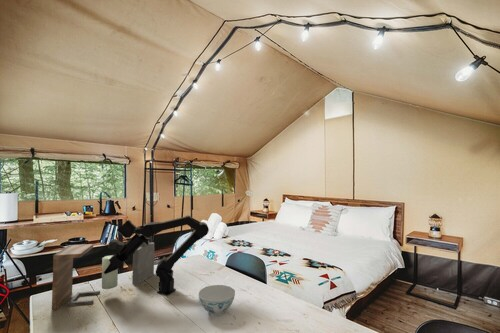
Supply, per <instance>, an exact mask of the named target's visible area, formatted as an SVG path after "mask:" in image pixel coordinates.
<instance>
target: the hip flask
mask: <svg viewBox="0 0 500 333" xmlns="http://www.w3.org/2000/svg"><path fill="white" fill-rule="evenodd" d="M154 274H155V242H152V241H151V242H149V244H148V245H147V244H146V243H145V242H144V243H143V244H142V245H141V246H140V247H139V248H138V249H137V250H136V251H135V253H134V254H132V277H131V278H132V280H131V281H132V282H131V284H132V285H133V286H134V285H135V286H137V285H139V284H140V283H142V282H143V281H144V280H147V278H150V277H152V276H154Z"/></svg>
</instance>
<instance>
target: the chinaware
mask: <svg viewBox="0 0 500 333" xmlns="http://www.w3.org/2000/svg"><path fill="white" fill-rule="evenodd" d="M235 295H236V291H235V289H234V288H233V287H231V286H228V285H225V284H213V285H208V286H206V287H203V288H201V289H200V290H199V291H198V299H199V302H200V305H201V306H202V307H203V309H204V310H206V311H207V312H208V314H209V315H211V316H215V317H216V316H217V317H218V316H221V315H223V314H224V313H225V312H226V311H227V310H228V309H230V307H231V305H232V303H233V301H234V300H235Z"/></svg>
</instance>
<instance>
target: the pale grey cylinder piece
mask: <svg viewBox="0 0 500 333" xmlns="http://www.w3.org/2000/svg"><path fill="white" fill-rule="evenodd" d="M113 255H114V254H112V255H105V256H104V257H102V258H101V261H102V262H101V269H102V270H101V289H103V290H110V289H114V288H117V287H118V282H119V281H118V279H119V277H118V276H119V273H118V272H119V269H117V270H114V271H112V272H109V273H107V274H104V271H105V270H106V269H107V267H108V266H109V264H110V261H109V259H110V258H111V257H112V256H113Z"/></svg>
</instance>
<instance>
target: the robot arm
mask: <svg viewBox="0 0 500 333" xmlns="http://www.w3.org/2000/svg"><path fill="white" fill-rule="evenodd" d="M184 226H188V227H190V228H191V229H192V232H191V234H190V235H189V236H188V237H187V238H186V239H185V241H183V243H181V244H180V245H179V247H178V248H176V249H175V250H174V251H173V253H172V254H170V256H168V257H166V256H163V258H162V259H161V260H160V261H158V262H157V265H156V269H155V276H156V277H157V278H159V281H158V290H157V291H156V293H157V294H159V295H165V296H169V295H170V294H171V293H173V292H175V291H176V290H177V289H176V288H175V278H174V269H173V268H174V266H175V264H176V263H177V262H178V261H179V260H180V259H181V257H183V256H184V255H185V253H187V251H188V250H189V249H190V248H191V247H193V245H194V244H196V242H198V241H199V240H202V239H203V238H204V237H205V236H207V235H208V234H209V232H210V228H209V226H208V224H207V223H206V222H204V221H199V220H198V219H195V218H194V217H192V216H191V215H186V216H181V217H178V218H174V219H170V220H165V221H153V222H147V223H145V224H144V225H139V226H136V225H135V224H133V222H132V221H131V220H130V219H128V220H126V221H125V222H124V223H123V224H121V225H120V226H119V227H118V228H117V229H116V231H117V233H119V234H120V235H121V236H122V237H123V238H125V239H129V240H128V241H126V242H123V241H120V240H118V239H115V238H112V239H111V240H110V242H109V243H108V246H107V248H108V249H111V250H114V251H115V253H114V254H112V255H113V256H112V257H111V258H110V259H109V261H110V264H109V266H108V267H107V269H106V270H105V271H104V274H107V273H109V272H112V271H114V270H117V269H118V270H122V268H123V267H124V266H125V264H126V261H127V260H129V258H130V257H131V256H133V254H134V253H135V251H136V250H137V249H138V248H139V247H140V246H141V245H142V244H143V243H144V242H145V243H146V244H147V245H148V244H149V243H150V238H151V237H152V236H155V235H157V234H159V233H161V232H164V231H166V230H167V231H168V230H171V229H175V228H179V227H184Z"/></svg>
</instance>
